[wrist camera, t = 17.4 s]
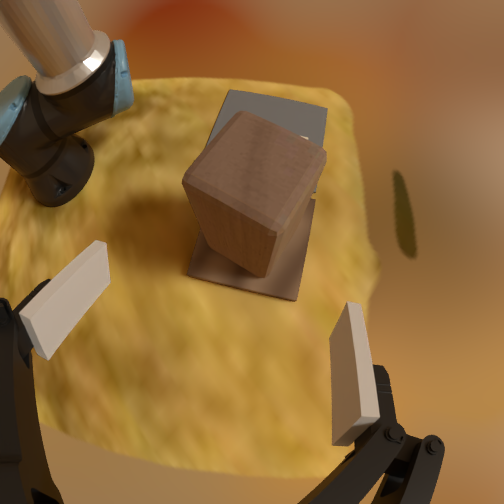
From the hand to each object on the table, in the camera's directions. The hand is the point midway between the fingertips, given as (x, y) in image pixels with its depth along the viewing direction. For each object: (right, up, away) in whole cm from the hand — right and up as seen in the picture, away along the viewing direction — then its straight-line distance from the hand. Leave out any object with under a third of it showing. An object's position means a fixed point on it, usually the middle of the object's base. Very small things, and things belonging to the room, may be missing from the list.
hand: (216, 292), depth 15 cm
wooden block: (+2, +4, +29) cm, 29 cm away
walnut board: (+2, +4, +30) cm, 30 cm away
